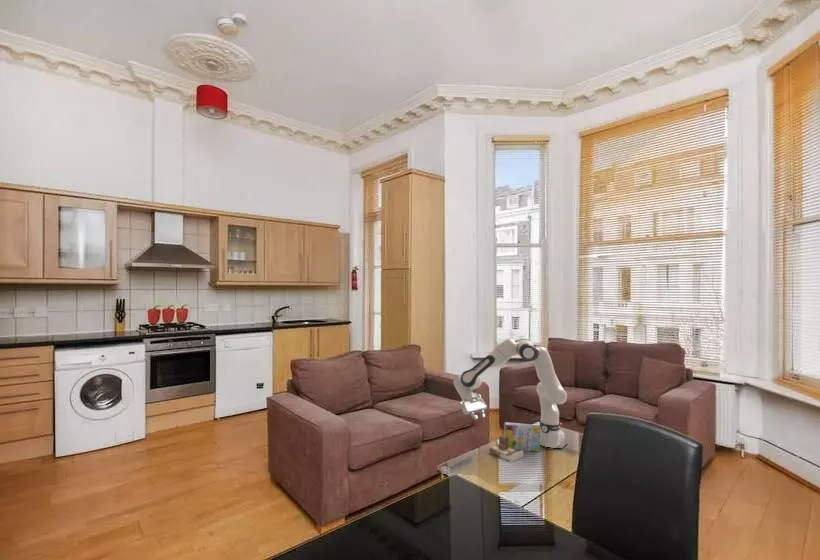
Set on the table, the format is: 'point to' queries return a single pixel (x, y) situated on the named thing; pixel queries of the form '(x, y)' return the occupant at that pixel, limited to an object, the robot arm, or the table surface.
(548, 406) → the robot arm
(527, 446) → the snack box
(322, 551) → the table surface
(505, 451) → the birch board
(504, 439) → the walnut block
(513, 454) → the tray
